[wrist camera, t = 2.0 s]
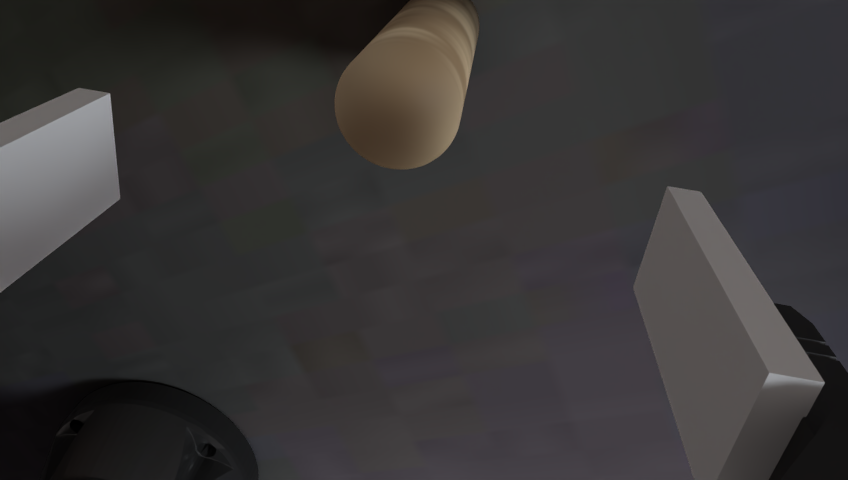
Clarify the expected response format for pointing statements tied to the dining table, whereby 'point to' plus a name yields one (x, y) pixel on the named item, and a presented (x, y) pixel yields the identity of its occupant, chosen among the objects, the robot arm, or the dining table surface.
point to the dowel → (409, 84)
